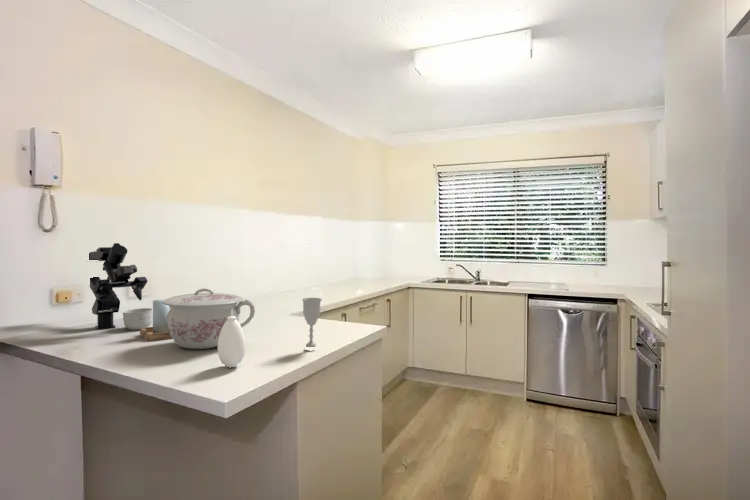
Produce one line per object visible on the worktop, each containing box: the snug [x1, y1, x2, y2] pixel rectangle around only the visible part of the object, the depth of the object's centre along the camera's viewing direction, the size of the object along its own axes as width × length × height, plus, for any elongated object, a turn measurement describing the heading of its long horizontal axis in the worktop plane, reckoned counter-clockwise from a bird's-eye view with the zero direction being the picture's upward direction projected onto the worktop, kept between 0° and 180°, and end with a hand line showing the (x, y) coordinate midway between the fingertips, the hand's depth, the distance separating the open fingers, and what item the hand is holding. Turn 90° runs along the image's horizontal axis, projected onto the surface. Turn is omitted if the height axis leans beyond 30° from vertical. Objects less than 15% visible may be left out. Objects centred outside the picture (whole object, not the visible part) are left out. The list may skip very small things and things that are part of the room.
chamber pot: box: [162, 287, 256, 351], centre depth 152 cm, size 28×28×21 cm
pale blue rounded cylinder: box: [152, 298, 170, 334], centre depth 164 cm, size 6×6×13 cm
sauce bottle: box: [217, 309, 246, 368], centre depth 127 cm, size 8×8×18 cm
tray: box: [139, 326, 173, 343], centre depth 164 cm, size 14×12×3 cm
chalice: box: [301, 297, 323, 347], centre depth 148 cm, size 7×7×18 cm
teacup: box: [122, 307, 153, 331], centre depth 178 cm, size 14×11×8 cm
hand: (129, 301), depth 166 cm, fingers open, 9 cm apart
